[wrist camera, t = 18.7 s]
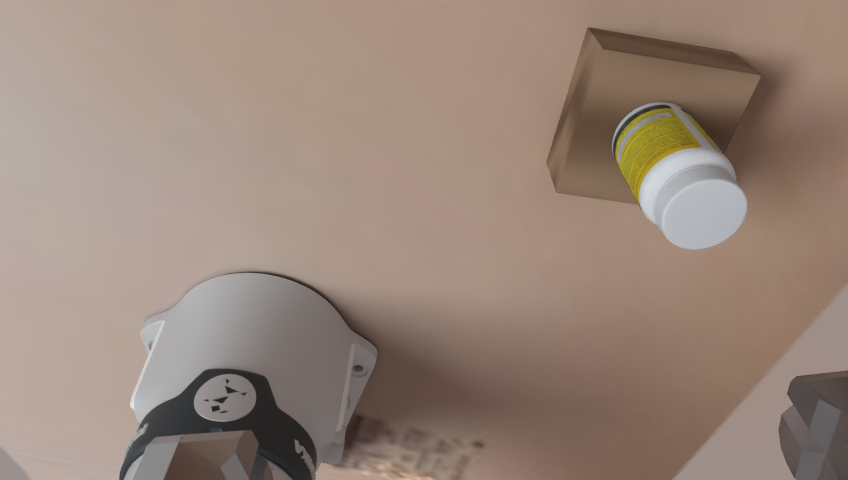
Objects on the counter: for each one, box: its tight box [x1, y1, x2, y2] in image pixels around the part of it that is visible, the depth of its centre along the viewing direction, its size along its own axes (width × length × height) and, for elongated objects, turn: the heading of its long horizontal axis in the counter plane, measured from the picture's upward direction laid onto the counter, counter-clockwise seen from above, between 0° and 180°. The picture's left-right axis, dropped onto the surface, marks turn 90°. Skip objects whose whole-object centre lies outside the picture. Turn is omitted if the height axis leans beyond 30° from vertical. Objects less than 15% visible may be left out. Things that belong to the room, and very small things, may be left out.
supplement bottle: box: [612, 102, 747, 249], centre depth 33 cm, size 5×5×8 cm
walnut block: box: [547, 28, 761, 205], centre depth 38 cm, size 9×9×4 cm
